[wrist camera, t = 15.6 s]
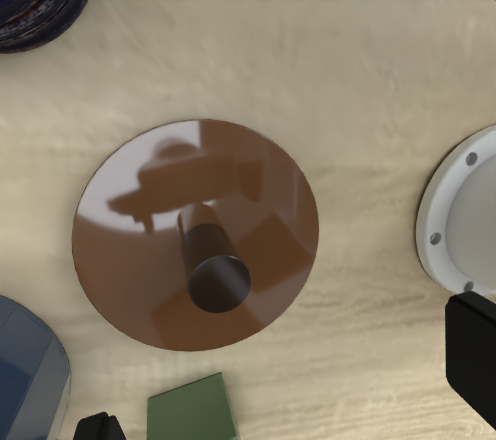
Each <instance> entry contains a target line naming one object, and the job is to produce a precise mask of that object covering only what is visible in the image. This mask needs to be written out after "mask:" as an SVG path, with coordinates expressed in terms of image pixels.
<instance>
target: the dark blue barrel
mask: <svg viewBox="0 0 496 440" xmlns="http://www.w3.org/2000/svg"><path fill="white" fill-rule="evenodd" d="M87 1H88V0H0V54H10V53H16V52H23V51H27V50H30V49H33V48H36V47H39V46H42V45H44V44H46V43H48V42H50V41H51V40H53V39H55V38H57V37H58V36H59V35H61V34H62V33H63V32H64V31H65V30H67V29H68V28H69V27H70V26H71V25H72V24H73V22H74V21H75V20H76V19H77V17H78V16H79V15H80V14H81V12H82V10H83V8H84V6H85V5H86V3H87Z"/></svg>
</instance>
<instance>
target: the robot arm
mask: <svg viewBox="0 0 496 440" xmlns="http://www.w3.org/2000/svg"><path fill="white" fill-rule="evenodd" d="M416 244H417V250H418V255H419V258H420V260H421V263H422V265H423V267H424V269H425V271H426V272H427V273H428V275H429V276H430V277H431V278H432V279H433V280H434V281H435V282H437V283H438V284H439V285H440V286H442V287H444V288H446V289H448V290H449V291H451V292H453V293H455V294H457V295H454V296H452V297H450V298H449V300H448V304H446V306H445V339H446V378H447V381H448V383H449V384H450V386H451V387H452V388H453V389H454V390H455V391H456V392H457V393H458V394H459V395H460V396H461V397H462V398H463V399H464V400H465V401H466V402H467V403H468V404H469V405H470V406H471V407H472V408H473V409H474V410H475V411H476V412H477V413H478V414H479V415H480V416H481V417H482V418H483V419H484V420H485V421H486V422H487V423H488V424H490V425H491V426H492V427H493V428H494V429H495V430H496V304H495V303H493V302H491V301H490V300H488V299H486V298H485V297H483V296H487V295H492V294H495V293H496V125H494V126H490V127H487V128H485V129H483V130H481V131H479V132H477V133H475V134H473V135H472V136H470V137H469V138H467V139H466V140H465V141H463V142H462V143H461V144H459V145H458V146H457V147H456V148H455V149H454V150H453V151H452V152H451V153H450V154H449V155H448V156H447V157H446V158H445V160H444V161H443V162H442V164H441V165H440V167H439V168H438V169H437V171H436V172H435V174H434V175H433V177H432V179H431V181H430V183H429V185H428V187H427V189H426V191H425V193H424V196H423V199H422V202H421V205H420V208H419V212H418V218H417V223H416ZM73 440H126V438H125V436H124V433H123V431H122V429H121V427H120V425H119V422H118V420H117V418H116V416H114V415H112V416H108V414H107V413H106V412H102V413H99V414H96V415H92V416H89V417H86V418H83V419H81V420H80V421H79V422H78V425H77V428H76V431H75V434H74V438H73Z"/></svg>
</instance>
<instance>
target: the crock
mask: <svg viewBox="0 0 496 440" xmlns="http://www.w3.org/2000/svg"><path fill="white" fill-rule="evenodd" d="M70 385H71V373H70V367H69V362H68V359H67V356H66V353H65V351H64V348H63V347H62V345H61V343H60V342H59V340H58V338H57V337H56V335H55V334H54V333H53V332H52V331H51V329H50V328H49V327H48V326H47V325H46V324H45V323H44V322H43V321H42V320H41V319H40V318H38V317H37V316H36V315H34V314H33V313H32V312H30V311H29V310H27V309H26V308H24V307H23V306H21V305H19V304H17V303H15V302H14V301H12V300H10V299H7V298H5V297H2V296H0V440H58V437H59V433H60V430H61V427H62V423H63V420H64V417H65V414H66V410H67V407H68V397H69V392H70Z"/></svg>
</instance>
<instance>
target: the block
mask: <svg viewBox="0 0 496 440" xmlns="http://www.w3.org/2000/svg"><path fill="white" fill-rule="evenodd" d="M147 440H241V439H240V436H239V432H238V428H237V424H236V421H235V417H234V414H233V411H232V407H231V404H230V400H229V397H228V394H227V390H226V387H225V384H224V380H223V377H222V374H221V373H219V374H216V375H213V376H211V377H208V378H205V379H202V380H199V381H197V382H194V383H191V384H188V385H185V386H183V387H180V388H177V389H174V390H172V391H169V392H166V393H163V394H160V395H158V396H155V397H152V398H149V399H148V410H147Z"/></svg>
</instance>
